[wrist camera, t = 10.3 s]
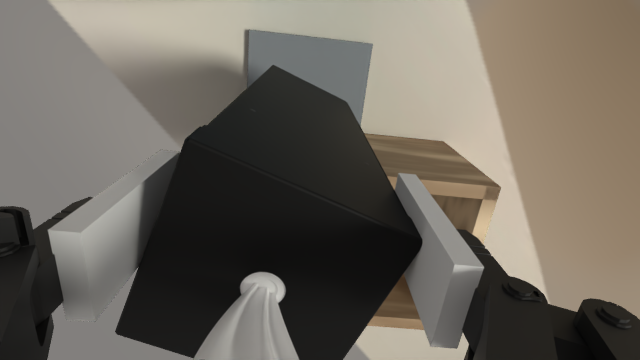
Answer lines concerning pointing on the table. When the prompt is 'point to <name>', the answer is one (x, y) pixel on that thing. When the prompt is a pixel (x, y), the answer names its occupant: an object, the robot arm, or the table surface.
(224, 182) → the black tall block
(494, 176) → the table surface
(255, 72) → the pad
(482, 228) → the holder
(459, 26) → the table surface
